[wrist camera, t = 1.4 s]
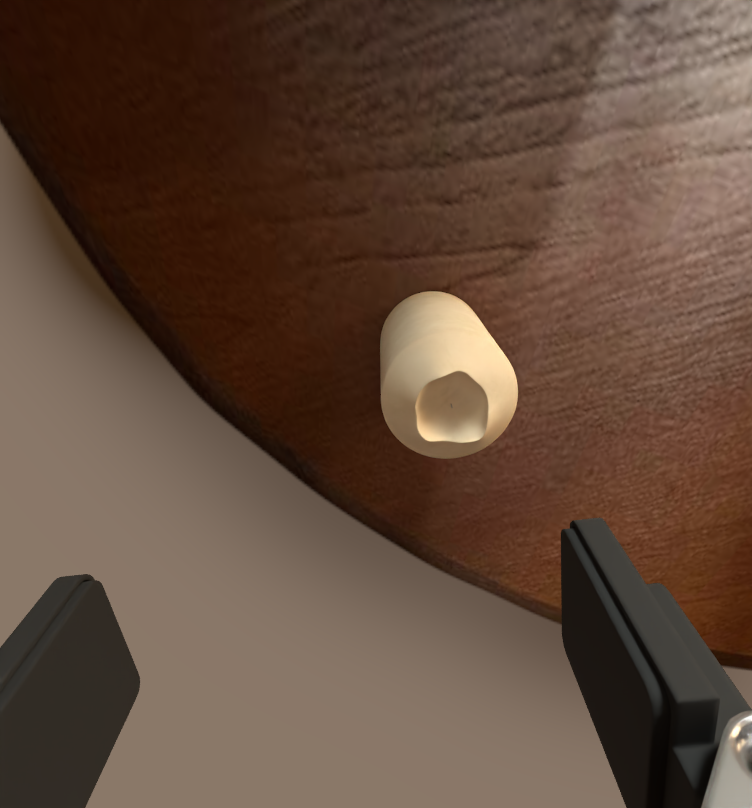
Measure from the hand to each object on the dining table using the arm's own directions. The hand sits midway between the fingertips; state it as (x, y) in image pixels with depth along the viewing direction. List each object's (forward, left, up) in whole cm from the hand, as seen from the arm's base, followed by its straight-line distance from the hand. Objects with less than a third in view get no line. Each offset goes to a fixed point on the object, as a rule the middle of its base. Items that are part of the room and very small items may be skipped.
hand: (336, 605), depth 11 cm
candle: (+4, 0, -21) cm, 21 cm away
